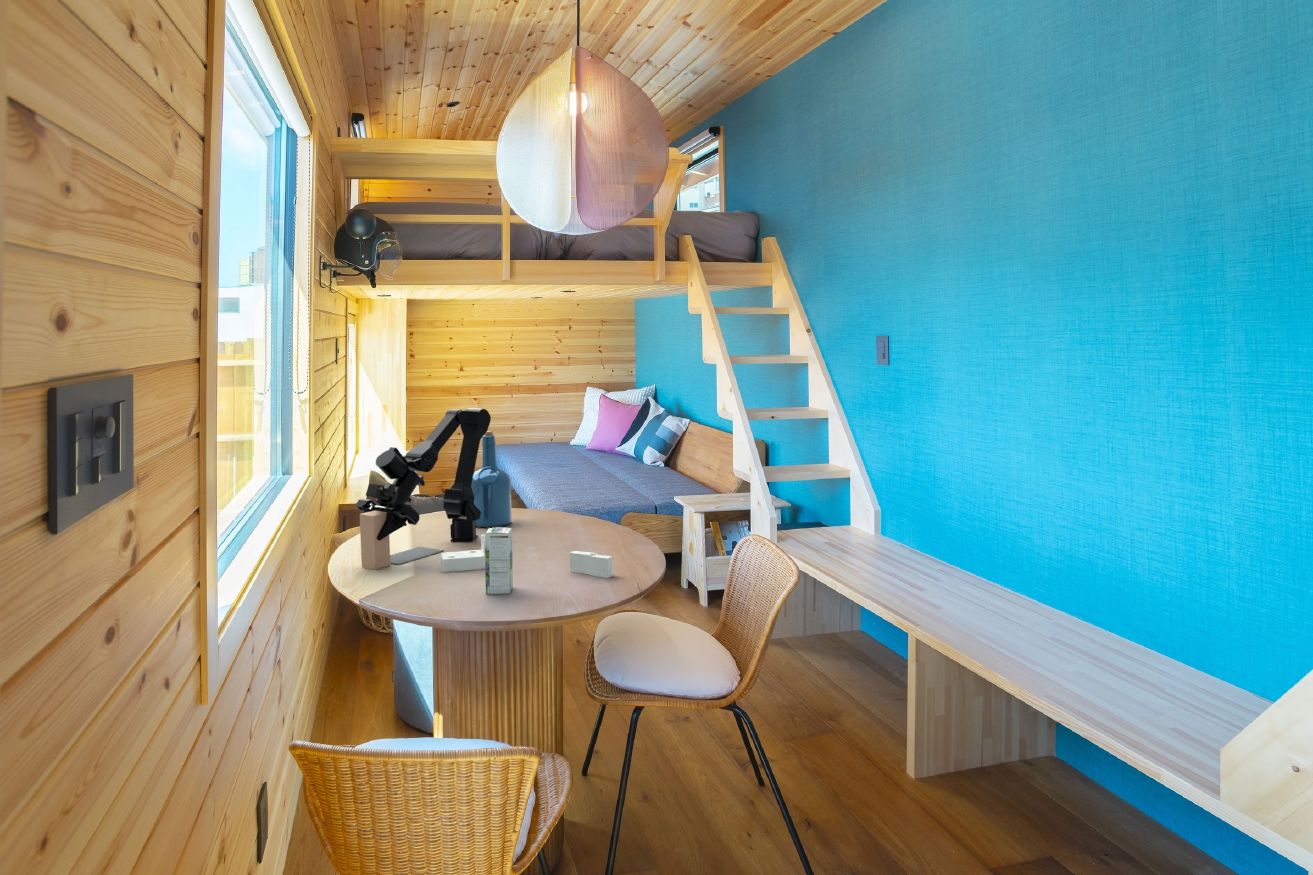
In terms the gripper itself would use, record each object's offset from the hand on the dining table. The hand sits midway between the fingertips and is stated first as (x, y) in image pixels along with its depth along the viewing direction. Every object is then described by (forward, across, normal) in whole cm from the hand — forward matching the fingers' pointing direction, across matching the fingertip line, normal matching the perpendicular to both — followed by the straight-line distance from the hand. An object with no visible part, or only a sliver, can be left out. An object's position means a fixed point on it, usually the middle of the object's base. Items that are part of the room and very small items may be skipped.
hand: (370, 538), depth 210 cm
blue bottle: (-33, -7, +44) cm, 55 cm away
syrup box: (+5, +42, +6) cm, 43 cm away
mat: (-4, 0, +15) cm, 15 cm away
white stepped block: (-10, +54, +22) cm, 58 cm away
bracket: (-3, +21, +15) cm, 26 cm away
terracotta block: (+4, 0, +6) cm, 8 cm away
